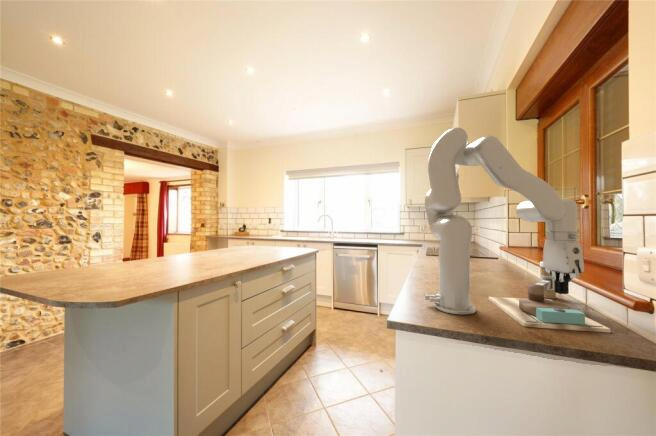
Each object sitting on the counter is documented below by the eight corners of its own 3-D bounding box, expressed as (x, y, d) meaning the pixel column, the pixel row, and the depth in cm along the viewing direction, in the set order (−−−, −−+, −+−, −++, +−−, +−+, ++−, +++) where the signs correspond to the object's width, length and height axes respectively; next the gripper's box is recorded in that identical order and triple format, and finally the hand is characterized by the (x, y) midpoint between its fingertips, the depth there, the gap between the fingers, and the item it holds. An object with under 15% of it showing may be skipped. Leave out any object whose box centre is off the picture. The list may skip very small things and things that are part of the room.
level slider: (542, 321, 72) (542, 310, 72) (536, 317, 75) (536, 306, 75) (584, 324, 70) (584, 312, 70) (576, 320, 73) (576, 309, 73)
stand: (523, 326, 72) (523, 322, 72) (488, 299, 96) (488, 296, 96) (610, 332, 68) (610, 328, 68) (550, 302, 92) (550, 299, 92)
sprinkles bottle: (557, 297, 98) (557, 262, 98) (553, 299, 95) (553, 263, 95) (542, 294, 101) (542, 260, 101) (538, 296, 99) (537, 261, 99)
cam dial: (597, 321, 71) (597, 295, 71) (531, 316, 75) (531, 292, 75) (549, 297, 92) (549, 278, 93) (500, 295, 96) (499, 276, 96)
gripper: (596, 238, 77) (597, 300, 77) (551, 235, 92) (551, 287, 92) (573, 238, 76) (573, 300, 76) (530, 235, 91) (531, 287, 91)
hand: (561, 293), depth 84 cm, fingers closed
